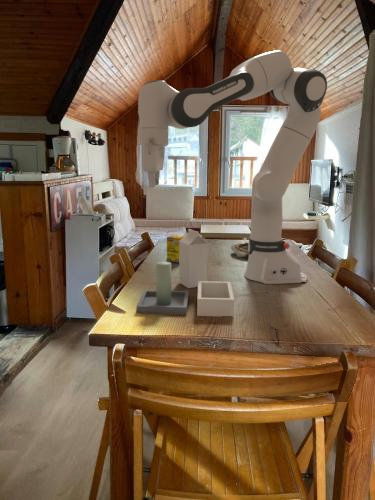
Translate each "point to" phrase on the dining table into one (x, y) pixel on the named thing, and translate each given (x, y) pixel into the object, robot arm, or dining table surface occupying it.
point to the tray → (150, 306)
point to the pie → (241, 250)
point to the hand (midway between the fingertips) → (154, 186)
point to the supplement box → (173, 248)
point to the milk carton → (192, 259)
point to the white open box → (215, 299)
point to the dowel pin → (163, 283)
